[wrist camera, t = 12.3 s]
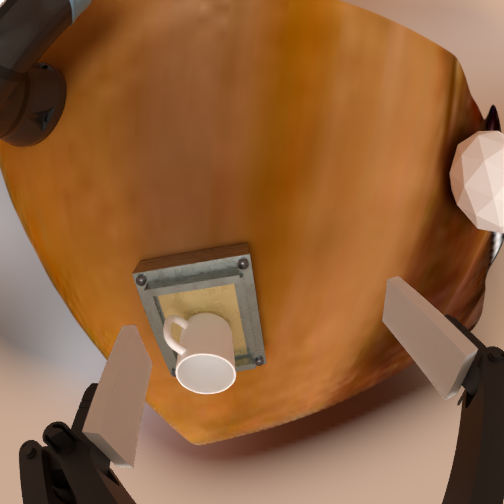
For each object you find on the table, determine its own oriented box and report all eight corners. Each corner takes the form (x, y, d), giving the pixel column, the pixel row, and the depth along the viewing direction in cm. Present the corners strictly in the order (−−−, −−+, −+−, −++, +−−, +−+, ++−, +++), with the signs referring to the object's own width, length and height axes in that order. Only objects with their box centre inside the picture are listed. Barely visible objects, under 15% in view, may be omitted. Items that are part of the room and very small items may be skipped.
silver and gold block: (140, 260, 45) (127, 281, 38) (246, 242, 46) (251, 260, 39) (174, 359, 53) (170, 385, 46) (262, 346, 54) (268, 372, 47)
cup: (208, 357, 47) (208, 401, 38) (154, 318, 43) (141, 360, 34) (242, 331, 46) (248, 374, 36) (186, 286, 42) (179, 326, 32)
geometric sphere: (448, 148, 50) (518, 129, 33) (468, 233, 50) (540, 221, 34) (424, 136, 39) (517, 107, 23) (450, 247, 40) (549, 234, 23)
